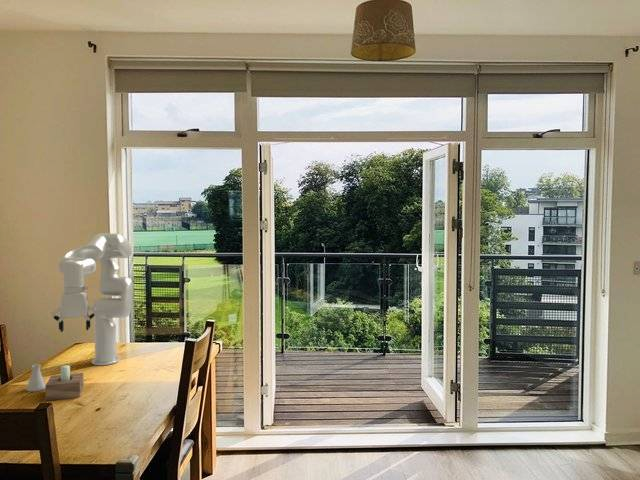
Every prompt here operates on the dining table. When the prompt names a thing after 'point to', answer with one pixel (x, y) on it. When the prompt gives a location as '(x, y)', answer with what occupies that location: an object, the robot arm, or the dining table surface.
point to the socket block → (64, 387)
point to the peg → (65, 373)
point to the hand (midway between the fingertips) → (74, 330)
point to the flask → (36, 380)
